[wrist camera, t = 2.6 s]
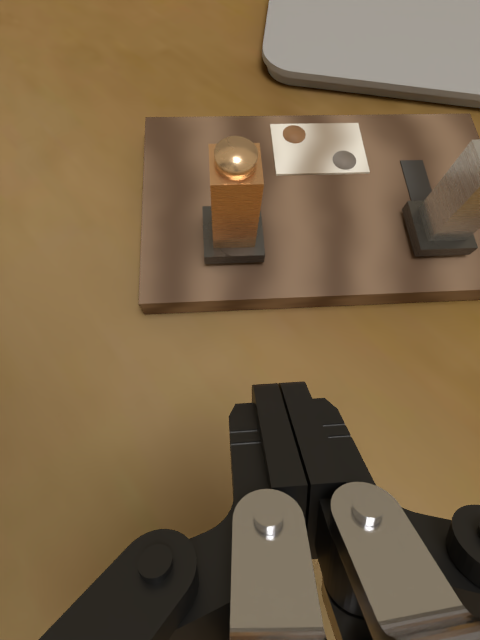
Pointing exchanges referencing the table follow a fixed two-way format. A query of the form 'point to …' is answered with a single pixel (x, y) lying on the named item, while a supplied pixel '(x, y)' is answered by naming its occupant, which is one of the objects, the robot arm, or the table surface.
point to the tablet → (378, 47)
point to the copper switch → (234, 203)
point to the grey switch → (448, 210)
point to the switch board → (303, 213)
